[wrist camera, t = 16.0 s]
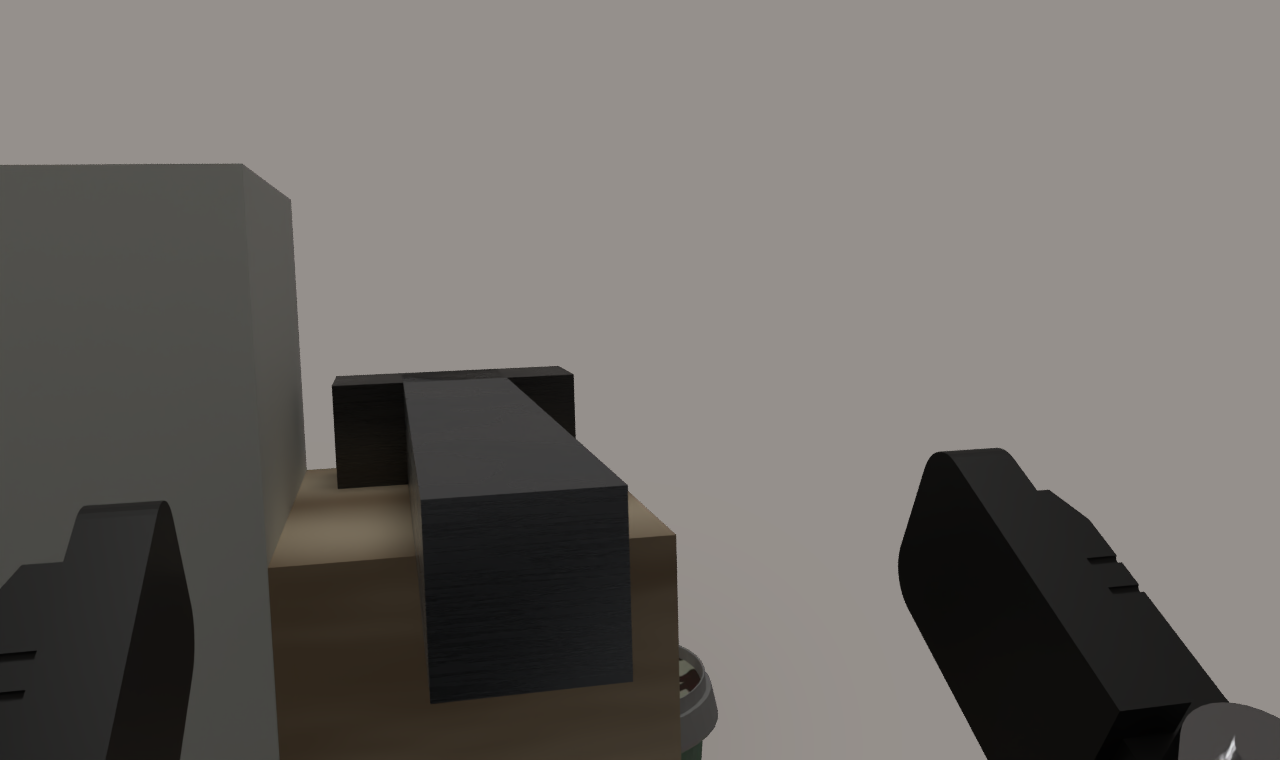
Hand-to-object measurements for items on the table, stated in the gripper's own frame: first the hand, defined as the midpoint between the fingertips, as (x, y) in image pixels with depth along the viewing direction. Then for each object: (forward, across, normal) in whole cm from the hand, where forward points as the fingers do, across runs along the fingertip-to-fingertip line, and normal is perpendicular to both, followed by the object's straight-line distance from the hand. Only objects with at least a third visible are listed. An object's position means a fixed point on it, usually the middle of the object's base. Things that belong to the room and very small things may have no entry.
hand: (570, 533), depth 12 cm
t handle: (+11, 0, +10) cm, 15 cm away
